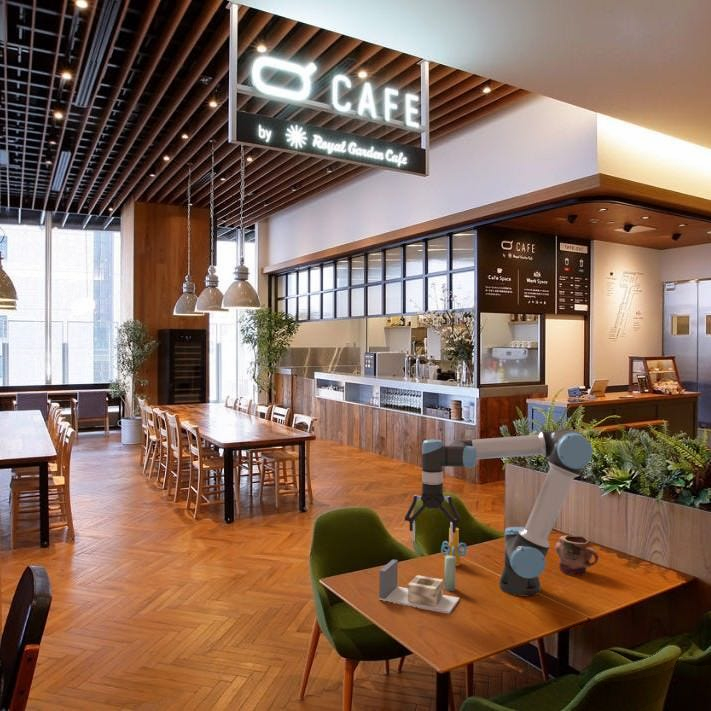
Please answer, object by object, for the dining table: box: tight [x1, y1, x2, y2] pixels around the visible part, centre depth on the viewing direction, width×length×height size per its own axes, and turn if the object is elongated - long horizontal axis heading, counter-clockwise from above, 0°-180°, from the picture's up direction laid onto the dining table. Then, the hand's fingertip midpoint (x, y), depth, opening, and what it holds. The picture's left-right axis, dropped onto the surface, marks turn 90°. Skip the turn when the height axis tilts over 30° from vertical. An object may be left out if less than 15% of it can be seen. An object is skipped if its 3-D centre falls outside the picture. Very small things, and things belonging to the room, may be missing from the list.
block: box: [407, 574, 444, 606], centre depth 220 cm, size 10×10×6 cm
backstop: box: [378, 559, 460, 615], centre depth 221 cm, size 26×13×11 cm, turn 65°
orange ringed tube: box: [440, 527, 467, 567], centre depth 259 cm, size 12×10×15 cm
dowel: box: [443, 555, 456, 592], centre depth 232 cm, size 4×4×12 cm
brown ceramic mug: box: [554, 534, 599, 577], centre depth 250 cm, size 20×12×14 cm, turn 38°
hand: (432, 540), depth 224 cm, fingers open, 13 cm apart
